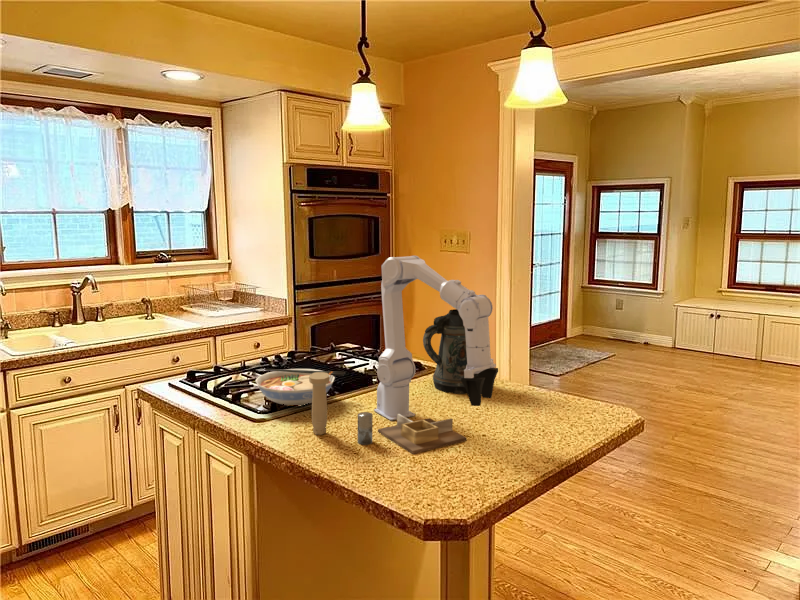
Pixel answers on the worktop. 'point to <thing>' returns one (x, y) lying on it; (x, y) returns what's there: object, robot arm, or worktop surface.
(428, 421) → the hinge block
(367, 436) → the hinge pin
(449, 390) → the beer stein
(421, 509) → the worktop surface
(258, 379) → the ramen bowl
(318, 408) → the handle
